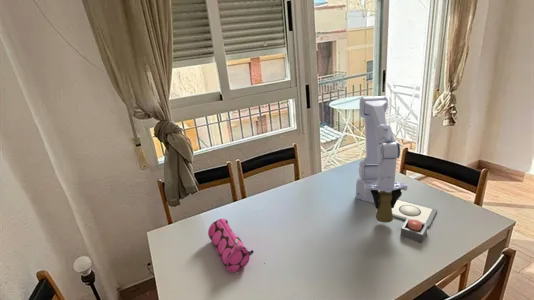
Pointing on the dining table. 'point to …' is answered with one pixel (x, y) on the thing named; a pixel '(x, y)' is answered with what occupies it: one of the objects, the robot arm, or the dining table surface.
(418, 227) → the button
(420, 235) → the button base
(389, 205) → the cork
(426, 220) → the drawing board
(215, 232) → the pencil case
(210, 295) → the dining table surface
